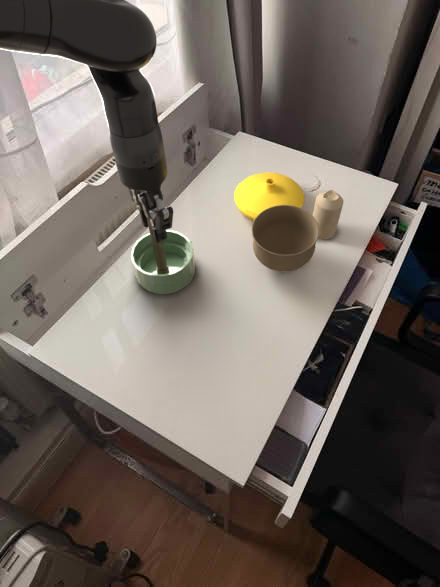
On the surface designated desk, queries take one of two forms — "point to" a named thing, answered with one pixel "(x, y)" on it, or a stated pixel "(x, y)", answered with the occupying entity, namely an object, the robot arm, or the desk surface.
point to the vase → (267, 193)
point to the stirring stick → (158, 252)
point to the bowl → (284, 237)
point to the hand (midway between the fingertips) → (155, 232)
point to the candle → (327, 213)
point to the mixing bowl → (176, 257)
